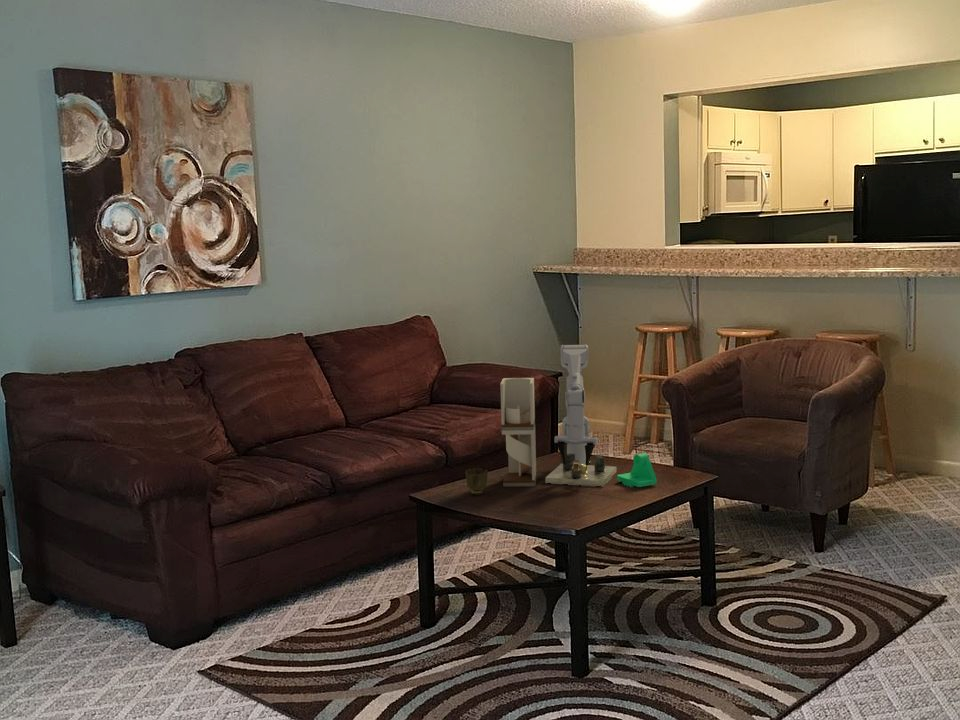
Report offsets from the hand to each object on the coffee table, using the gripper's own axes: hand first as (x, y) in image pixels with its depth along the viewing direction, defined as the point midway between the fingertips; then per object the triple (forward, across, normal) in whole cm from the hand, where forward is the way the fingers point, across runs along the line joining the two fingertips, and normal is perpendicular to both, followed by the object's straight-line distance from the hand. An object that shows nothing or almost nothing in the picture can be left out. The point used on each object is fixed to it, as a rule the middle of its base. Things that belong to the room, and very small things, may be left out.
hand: (576, 464), depth 358 cm
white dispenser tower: (+7, -19, -4) cm, 20 cm away
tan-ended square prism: (+4, 0, 0) cm, 4 cm away
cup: (+6, -28, -22) cm, 36 cm away
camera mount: (+7, +20, +2) cm, 21 cm away
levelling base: (+6, 0, +6) cm, 9 cm away
